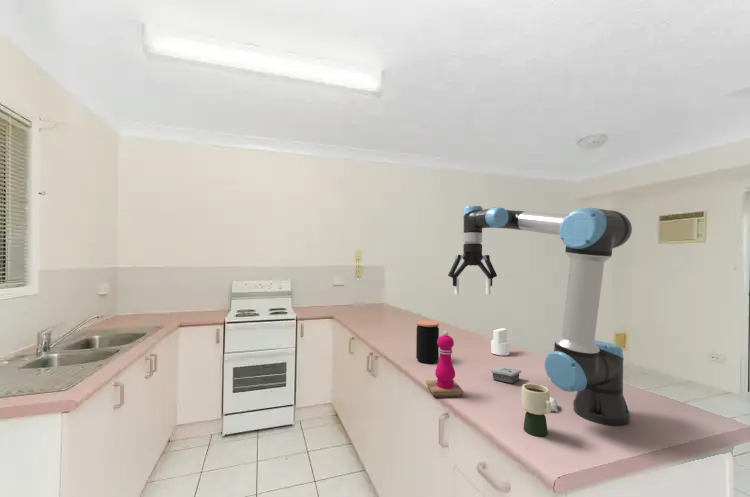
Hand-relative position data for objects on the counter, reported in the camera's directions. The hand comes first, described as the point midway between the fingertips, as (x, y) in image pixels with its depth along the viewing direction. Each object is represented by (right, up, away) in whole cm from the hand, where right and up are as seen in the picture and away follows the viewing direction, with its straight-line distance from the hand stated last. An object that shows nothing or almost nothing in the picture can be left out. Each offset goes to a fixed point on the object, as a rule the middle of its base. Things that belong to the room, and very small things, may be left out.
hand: (472, 294), depth 143 cm
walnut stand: (-15, -34, -16) cm, 41 cm away
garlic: (+17, -35, -29) cm, 48 cm away
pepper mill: (-15, -32, -16) cm, 39 cm away
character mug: (+5, -34, -45) cm, 56 cm away
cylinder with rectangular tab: (+25, -35, +35) cm, 56 cm away
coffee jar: (-15, -35, +22) cm, 44 cm away
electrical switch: (+16, -35, -6) cm, 39 cm away
